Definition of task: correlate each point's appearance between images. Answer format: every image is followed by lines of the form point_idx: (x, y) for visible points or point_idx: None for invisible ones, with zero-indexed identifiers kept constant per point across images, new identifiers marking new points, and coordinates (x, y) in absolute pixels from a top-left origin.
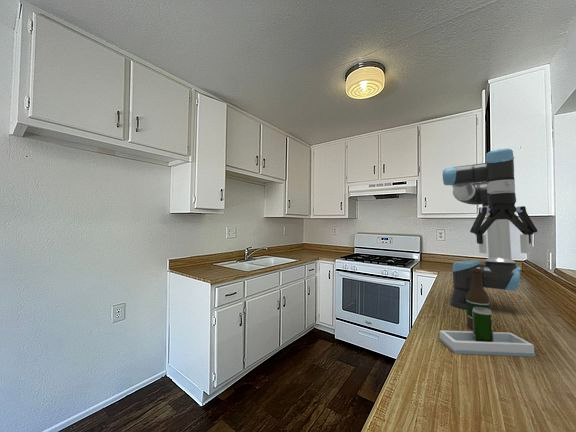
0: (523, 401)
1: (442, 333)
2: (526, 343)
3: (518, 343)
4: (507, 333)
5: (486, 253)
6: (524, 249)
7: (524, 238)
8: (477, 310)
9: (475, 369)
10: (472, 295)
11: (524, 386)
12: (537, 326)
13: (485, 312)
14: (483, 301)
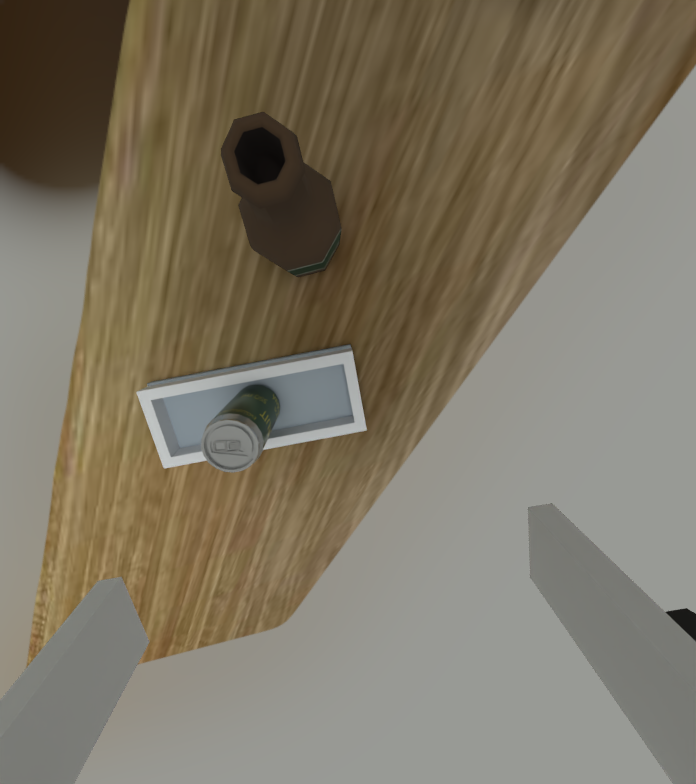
0: (249, 590)
1: (143, 409)
2: (353, 424)
3: (332, 430)
4: (339, 361)
5: (145, 643)
6: (553, 583)
7: (680, 762)
8: (210, 462)
9: (204, 516)
10: (254, 243)
11: (272, 549)
12: (528, 155)
13: (234, 470)
14: (300, 264)
